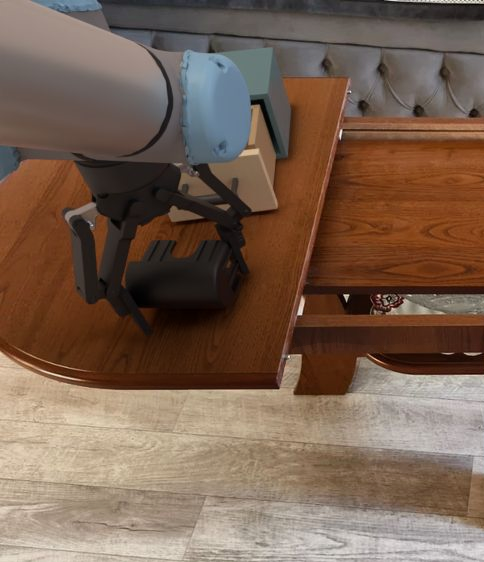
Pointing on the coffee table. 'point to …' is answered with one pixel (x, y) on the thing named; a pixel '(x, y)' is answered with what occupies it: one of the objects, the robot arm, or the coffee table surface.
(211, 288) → the end cap
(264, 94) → the cabinet
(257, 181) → the drawer
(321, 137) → the coffee table surface
